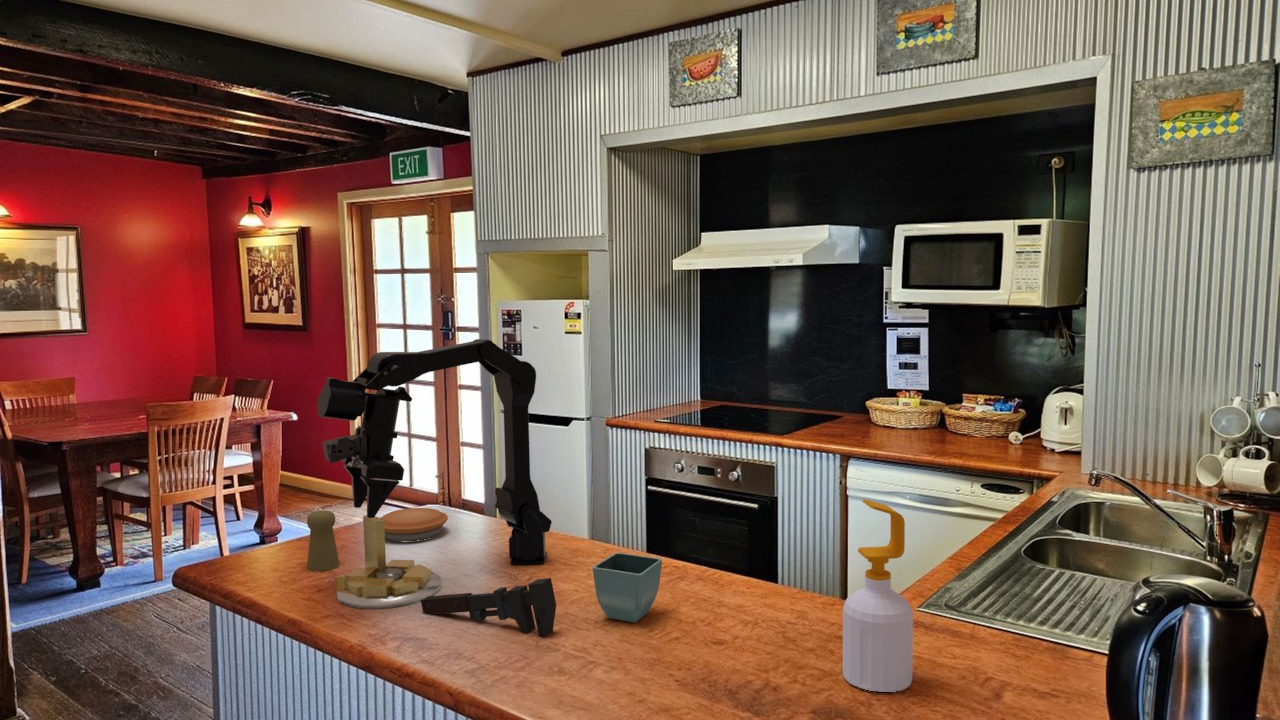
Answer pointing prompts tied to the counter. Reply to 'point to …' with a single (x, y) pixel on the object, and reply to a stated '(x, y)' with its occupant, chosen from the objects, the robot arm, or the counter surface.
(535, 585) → the adjustable wrench
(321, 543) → the olive pepper mill
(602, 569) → the flower pot
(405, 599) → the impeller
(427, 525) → the pie
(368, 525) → the tan block ring
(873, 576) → the soap bottle
